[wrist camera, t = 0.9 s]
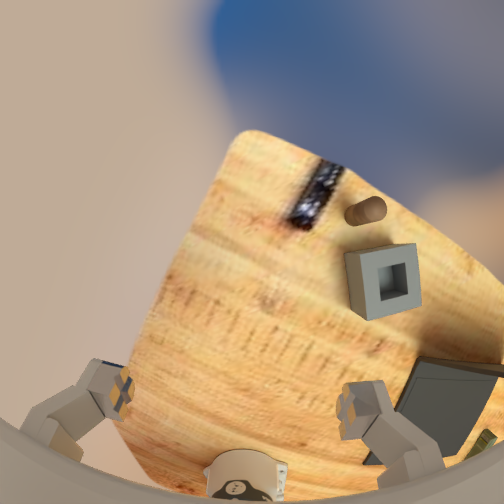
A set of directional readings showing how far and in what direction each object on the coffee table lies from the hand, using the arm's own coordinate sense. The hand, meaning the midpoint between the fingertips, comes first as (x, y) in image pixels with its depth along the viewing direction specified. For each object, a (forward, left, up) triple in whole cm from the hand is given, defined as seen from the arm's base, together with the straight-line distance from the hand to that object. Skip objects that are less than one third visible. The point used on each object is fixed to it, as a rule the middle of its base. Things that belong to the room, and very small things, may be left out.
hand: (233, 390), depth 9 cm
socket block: (-3, -21, -37) cm, 43 cm away
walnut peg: (+8, -19, -37) cm, 42 cm away
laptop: (-39, -40, -38) cm, 67 cm away
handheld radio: (-70, -54, -38) cm, 97 cm away
